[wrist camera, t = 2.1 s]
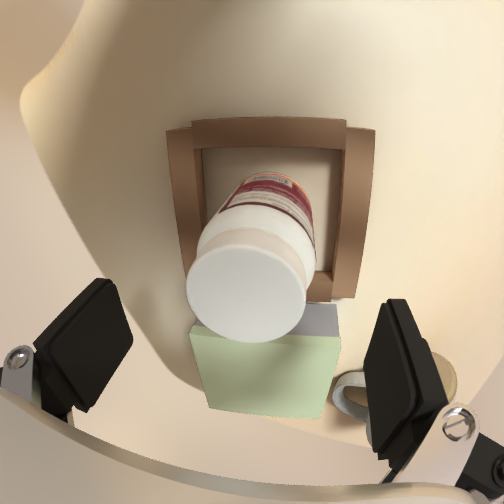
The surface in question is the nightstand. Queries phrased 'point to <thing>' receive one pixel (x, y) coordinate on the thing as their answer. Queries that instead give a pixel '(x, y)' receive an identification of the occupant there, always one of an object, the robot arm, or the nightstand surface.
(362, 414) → the ceramic mug
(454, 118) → the nightstand surface
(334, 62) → the nightstand surface
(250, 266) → the pill bottle
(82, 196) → the nightstand surface
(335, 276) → the base
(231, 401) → the green square block
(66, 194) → the nightstand surface
